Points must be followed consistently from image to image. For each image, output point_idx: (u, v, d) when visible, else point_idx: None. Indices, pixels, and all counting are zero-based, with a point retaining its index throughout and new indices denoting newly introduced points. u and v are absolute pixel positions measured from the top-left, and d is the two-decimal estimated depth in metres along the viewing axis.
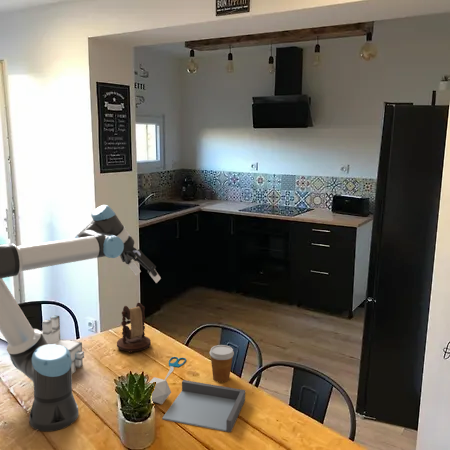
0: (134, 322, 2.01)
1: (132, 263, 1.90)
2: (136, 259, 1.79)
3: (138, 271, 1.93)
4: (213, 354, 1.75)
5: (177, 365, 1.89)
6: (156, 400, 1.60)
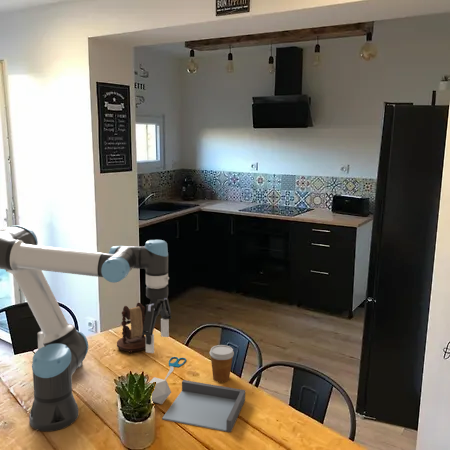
0: (134, 322, 2.01)
1: (165, 321, 1.66)
2: None
3: (165, 334, 1.67)
4: (213, 354, 1.75)
5: (177, 365, 1.89)
6: (156, 400, 1.60)
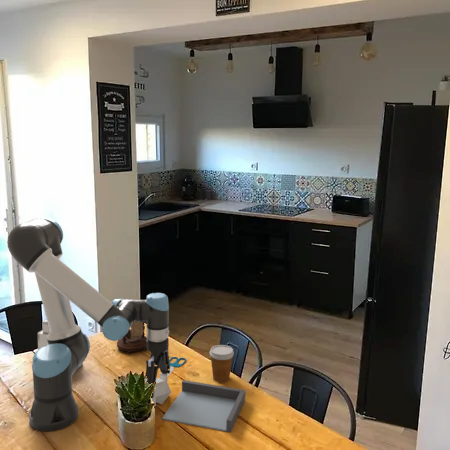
0: (134, 322, 2.01)
1: (164, 376, 1.67)
2: None
3: None
4: (213, 354, 1.75)
5: (177, 365, 1.89)
6: (156, 400, 1.60)
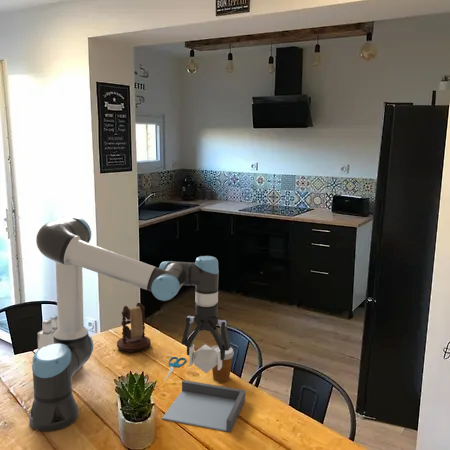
0: (134, 322, 2.01)
1: (193, 347, 1.57)
2: (214, 332, 1.53)
3: (193, 361, 1.58)
4: None
5: (177, 365, 1.89)
6: None
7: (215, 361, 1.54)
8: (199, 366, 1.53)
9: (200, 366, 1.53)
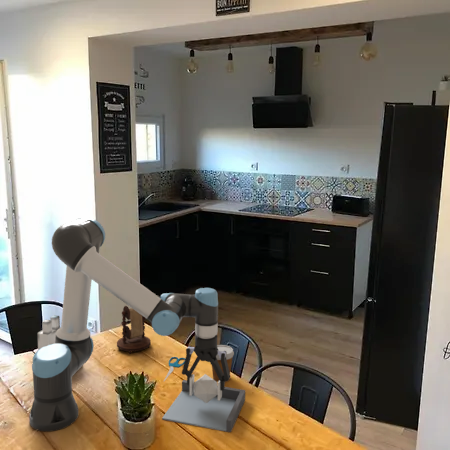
0: (134, 322, 2.01)
1: (193, 377, 1.59)
2: (214, 363, 1.54)
3: (193, 390, 1.60)
4: None
5: (177, 365, 1.89)
6: None
7: (215, 391, 1.56)
8: (199, 396, 1.55)
9: (200, 397, 1.55)
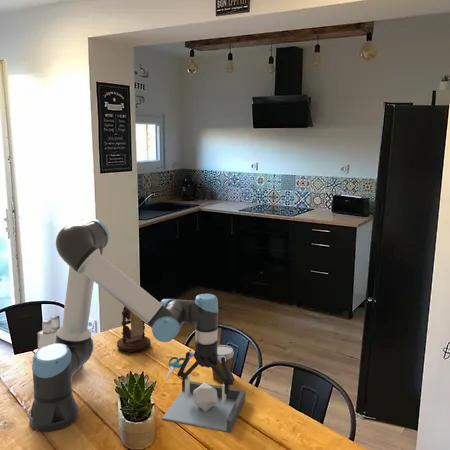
0: (134, 322, 2.01)
1: (188, 379, 1.60)
2: (215, 367, 1.55)
3: (188, 392, 1.61)
4: None
5: (177, 365, 1.89)
6: None
7: (214, 400, 1.56)
8: (199, 405, 1.56)
9: (200, 405, 1.56)
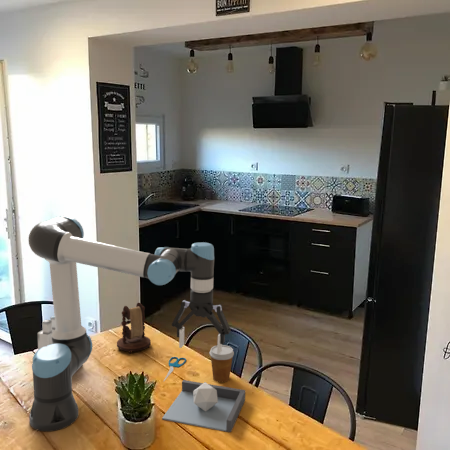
0: (134, 322, 2.01)
1: (183, 330, 1.58)
2: (211, 317, 1.53)
3: (183, 343, 1.59)
4: (213, 354, 1.75)
5: (177, 365, 1.89)
6: None
7: (214, 400, 1.56)
8: (199, 405, 1.56)
9: (200, 405, 1.56)
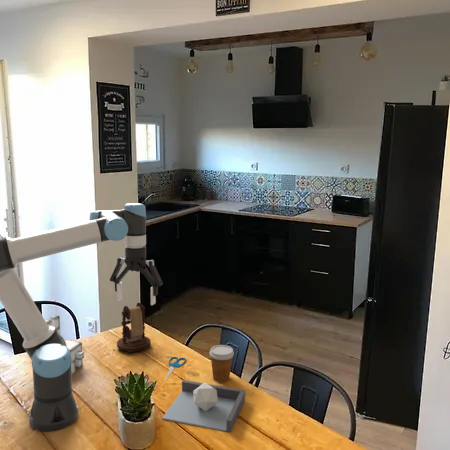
0: (134, 322, 2.01)
1: (120, 284, 1.72)
2: (144, 271, 1.67)
3: (121, 297, 1.73)
4: (213, 354, 1.75)
5: (177, 365, 1.89)
6: None
7: (214, 400, 1.56)
8: (199, 405, 1.56)
9: (200, 405, 1.56)
